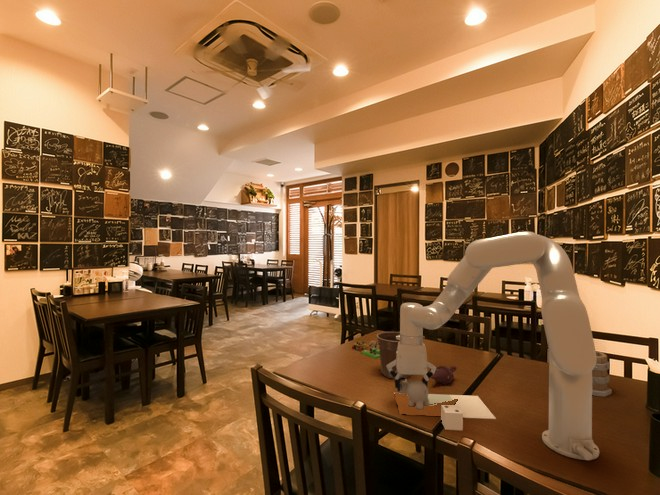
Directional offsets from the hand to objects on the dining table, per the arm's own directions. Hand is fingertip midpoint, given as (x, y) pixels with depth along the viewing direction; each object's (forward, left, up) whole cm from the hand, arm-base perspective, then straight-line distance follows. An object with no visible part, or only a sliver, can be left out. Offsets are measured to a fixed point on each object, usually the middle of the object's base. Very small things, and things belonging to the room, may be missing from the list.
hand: (411, 390), depth 115 cm
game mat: (0, -10, -5) cm, 11 cm away
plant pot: (+27, +2, -5) cm, 28 cm away
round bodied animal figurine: (0, 0, -5) cm, 5 cm away
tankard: (+19, -66, -5) cm, 69 cm away
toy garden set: (+60, +8, -6) cm, 61 cm away
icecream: (+19, -16, -5) cm, 25 cm away
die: (-13, -10, -5) cm, 17 cm away
